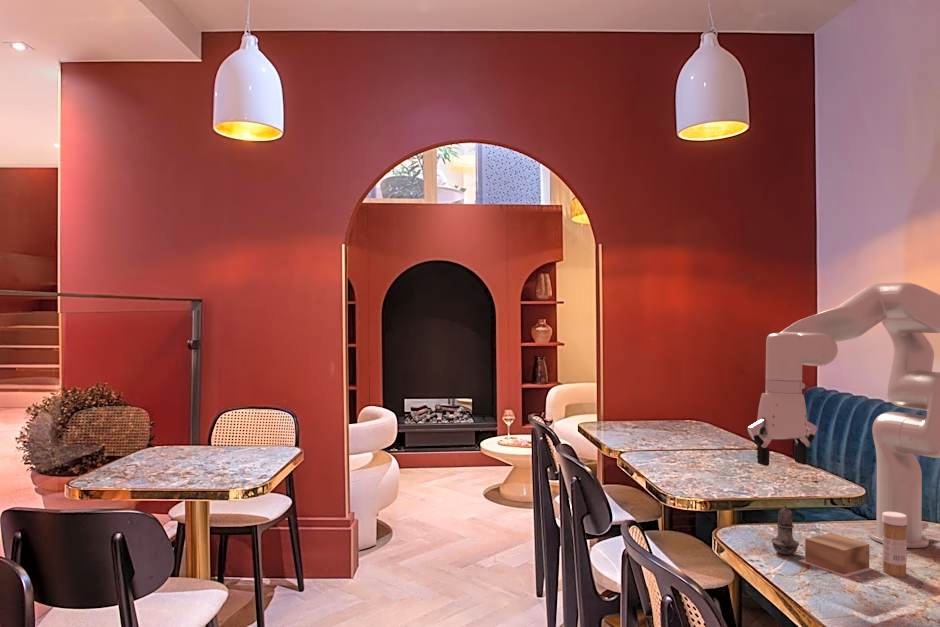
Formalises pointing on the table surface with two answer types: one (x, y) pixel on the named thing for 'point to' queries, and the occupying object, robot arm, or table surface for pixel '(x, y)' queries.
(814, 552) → the walnut block
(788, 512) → the dark grey chess piece
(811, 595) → the table surface
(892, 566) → the sprinkles bottle
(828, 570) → the grey flat slab
